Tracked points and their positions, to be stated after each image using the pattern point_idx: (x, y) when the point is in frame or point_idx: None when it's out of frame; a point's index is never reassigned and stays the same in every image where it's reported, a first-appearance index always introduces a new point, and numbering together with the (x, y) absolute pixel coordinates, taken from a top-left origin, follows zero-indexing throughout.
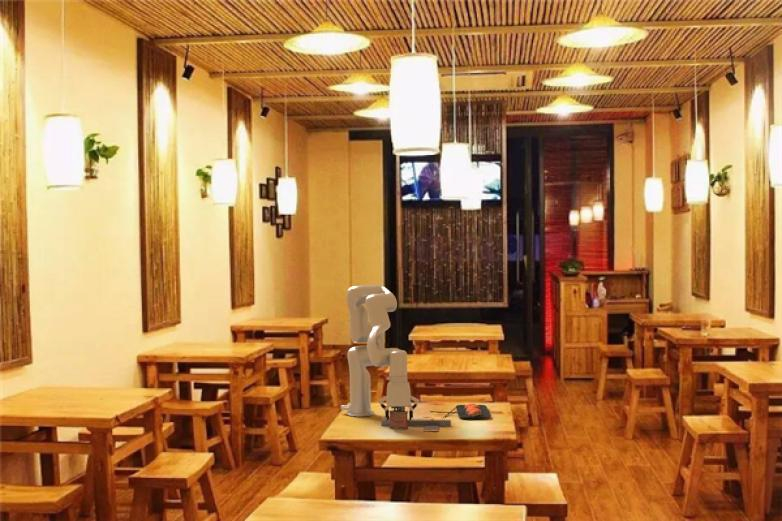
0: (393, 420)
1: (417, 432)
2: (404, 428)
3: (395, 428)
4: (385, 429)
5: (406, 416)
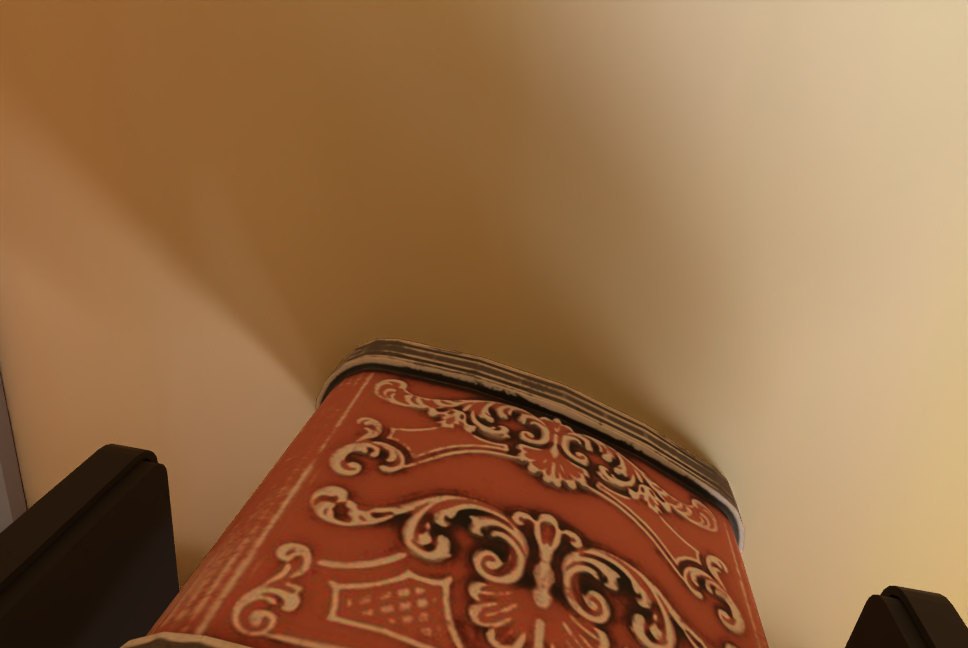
0: (677, 587)
1: (76, 12)
2: (396, 352)
3: (611, 417)
4: (860, 425)
5: (200, 574)
